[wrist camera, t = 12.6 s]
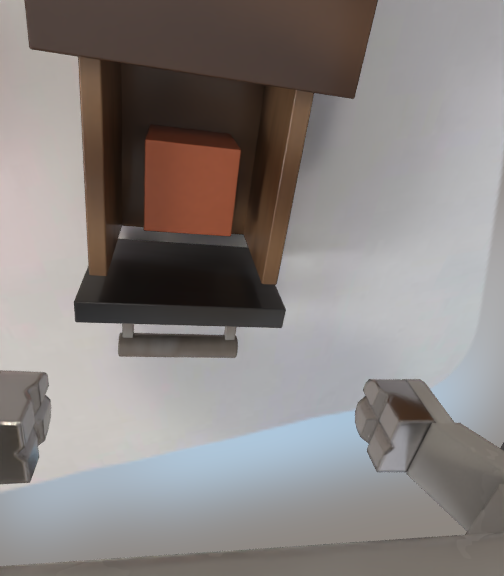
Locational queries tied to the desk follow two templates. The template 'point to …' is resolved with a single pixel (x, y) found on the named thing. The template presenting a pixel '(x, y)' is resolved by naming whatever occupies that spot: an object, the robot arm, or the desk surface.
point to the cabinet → (216, 38)
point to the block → (190, 181)
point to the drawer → (181, 256)
